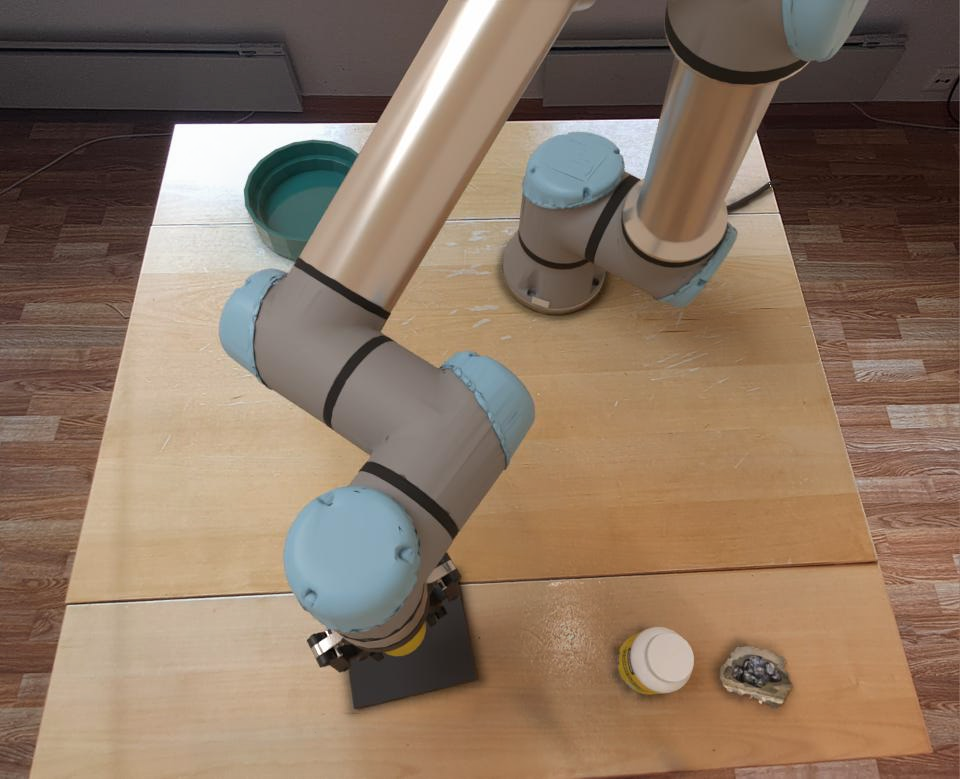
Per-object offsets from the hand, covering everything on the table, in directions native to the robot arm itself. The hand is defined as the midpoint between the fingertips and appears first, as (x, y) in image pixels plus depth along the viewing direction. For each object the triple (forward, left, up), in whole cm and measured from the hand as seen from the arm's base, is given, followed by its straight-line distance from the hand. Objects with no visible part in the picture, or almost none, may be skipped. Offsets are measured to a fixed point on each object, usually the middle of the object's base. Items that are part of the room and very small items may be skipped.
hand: (401, 631), depth 72 cm
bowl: (+3, -65, -9) cm, 65 cm away
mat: (0, 0, -9) cm, 9 cm away
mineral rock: (-38, +12, -9) cm, 41 cm away
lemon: (0, 0, -1) cm, 1 cm away
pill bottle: (-26, +8, -9) cm, 29 cm away
